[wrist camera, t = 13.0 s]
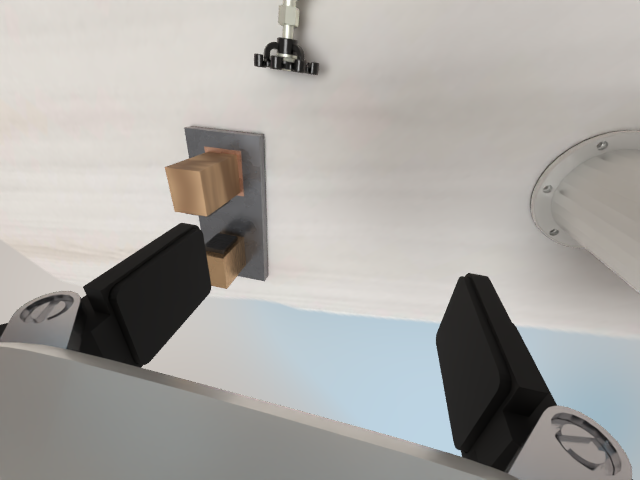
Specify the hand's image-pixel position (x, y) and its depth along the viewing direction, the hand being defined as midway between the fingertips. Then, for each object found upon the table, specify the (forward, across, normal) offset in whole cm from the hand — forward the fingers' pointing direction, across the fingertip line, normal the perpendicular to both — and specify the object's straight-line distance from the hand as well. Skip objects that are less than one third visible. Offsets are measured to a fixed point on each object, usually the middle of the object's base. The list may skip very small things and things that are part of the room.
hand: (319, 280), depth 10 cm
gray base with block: (+26, +18, +11) cm, 34 cm away
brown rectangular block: (+25, +18, +5) cm, 31 cm away
